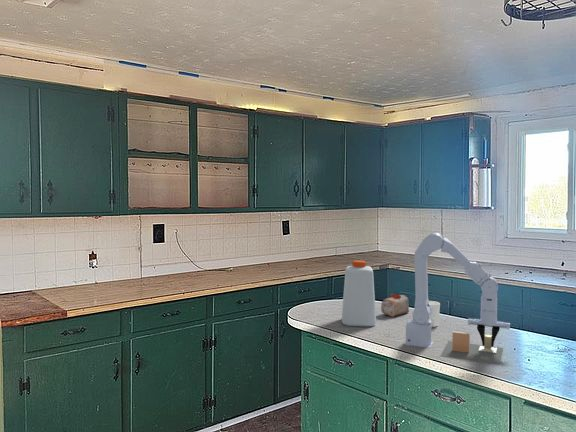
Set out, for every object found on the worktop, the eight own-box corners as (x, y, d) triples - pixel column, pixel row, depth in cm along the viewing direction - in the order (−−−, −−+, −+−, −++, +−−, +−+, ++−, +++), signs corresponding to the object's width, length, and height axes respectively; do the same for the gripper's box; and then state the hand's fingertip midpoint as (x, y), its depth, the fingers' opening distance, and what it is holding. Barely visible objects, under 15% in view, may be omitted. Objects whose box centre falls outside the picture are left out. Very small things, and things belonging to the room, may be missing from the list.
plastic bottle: (374, 318, 237) (375, 258, 235) (376, 327, 222) (377, 264, 220) (341, 317, 238) (342, 258, 237) (341, 326, 223) (342, 263, 221)
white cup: (427, 328, 221) (427, 305, 220) (417, 323, 229) (418, 301, 228) (443, 326, 223) (443, 304, 223) (433, 322, 231) (433, 300, 230)
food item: (393, 318, 237) (393, 297, 237) (379, 315, 243) (379, 294, 243) (410, 313, 246) (410, 293, 246) (396, 310, 252) (397, 290, 252)
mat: (440, 357, 183) (440, 356, 183) (448, 342, 201) (448, 340, 201) (500, 366, 175) (500, 364, 175) (503, 349, 193) (503, 347, 193)
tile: (452, 350, 189) (452, 332, 189) (452, 349, 191) (453, 331, 190) (469, 352, 187) (469, 334, 186) (469, 351, 188) (469, 333, 188)
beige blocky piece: (478, 351, 188) (478, 337, 188) (480, 347, 193) (480, 332, 193) (496, 354, 185) (496, 339, 185) (497, 349, 191) (497, 334, 190)
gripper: (510, 309, 189) (509, 345, 190) (469, 305, 195) (468, 340, 196) (509, 313, 183) (508, 350, 183) (467, 309, 189) (466, 345, 190)
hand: (488, 345), depth 189 cm, fingers closed on beige blocky piece, 2 cm apart
